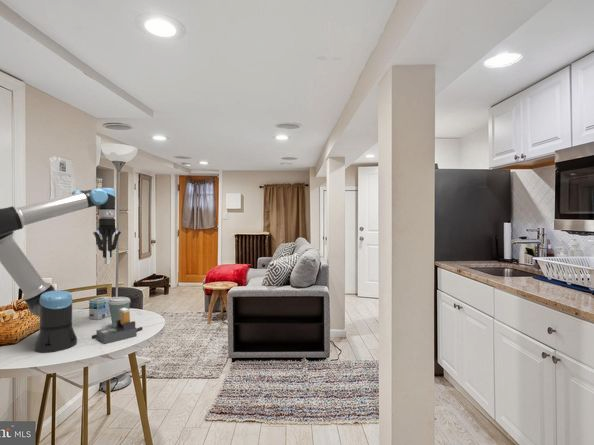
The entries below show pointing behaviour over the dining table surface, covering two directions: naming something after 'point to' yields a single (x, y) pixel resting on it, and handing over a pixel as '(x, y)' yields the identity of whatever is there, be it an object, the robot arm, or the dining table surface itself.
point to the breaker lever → (124, 315)
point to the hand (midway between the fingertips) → (107, 263)
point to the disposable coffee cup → (117, 307)
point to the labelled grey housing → (117, 332)
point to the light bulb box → (99, 308)
